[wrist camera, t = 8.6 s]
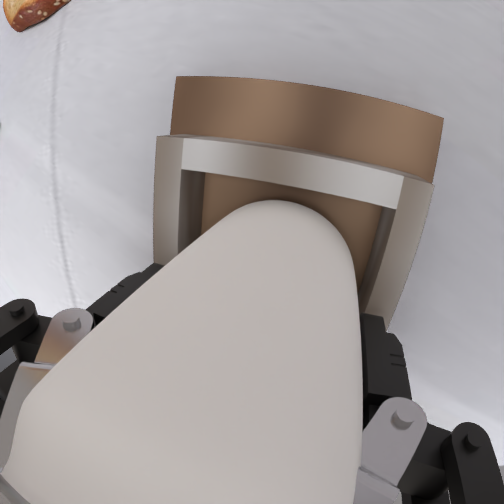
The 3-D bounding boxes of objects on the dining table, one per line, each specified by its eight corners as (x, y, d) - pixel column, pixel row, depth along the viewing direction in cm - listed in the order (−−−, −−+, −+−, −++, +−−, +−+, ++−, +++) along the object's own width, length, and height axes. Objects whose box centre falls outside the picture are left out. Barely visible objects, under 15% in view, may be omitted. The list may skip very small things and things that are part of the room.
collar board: (433, 119, 11) (466, 116, 8) (352, 380, 18) (350, 428, 14) (190, 80, 13) (146, 69, 10) (178, 337, 20) (149, 374, 16)
